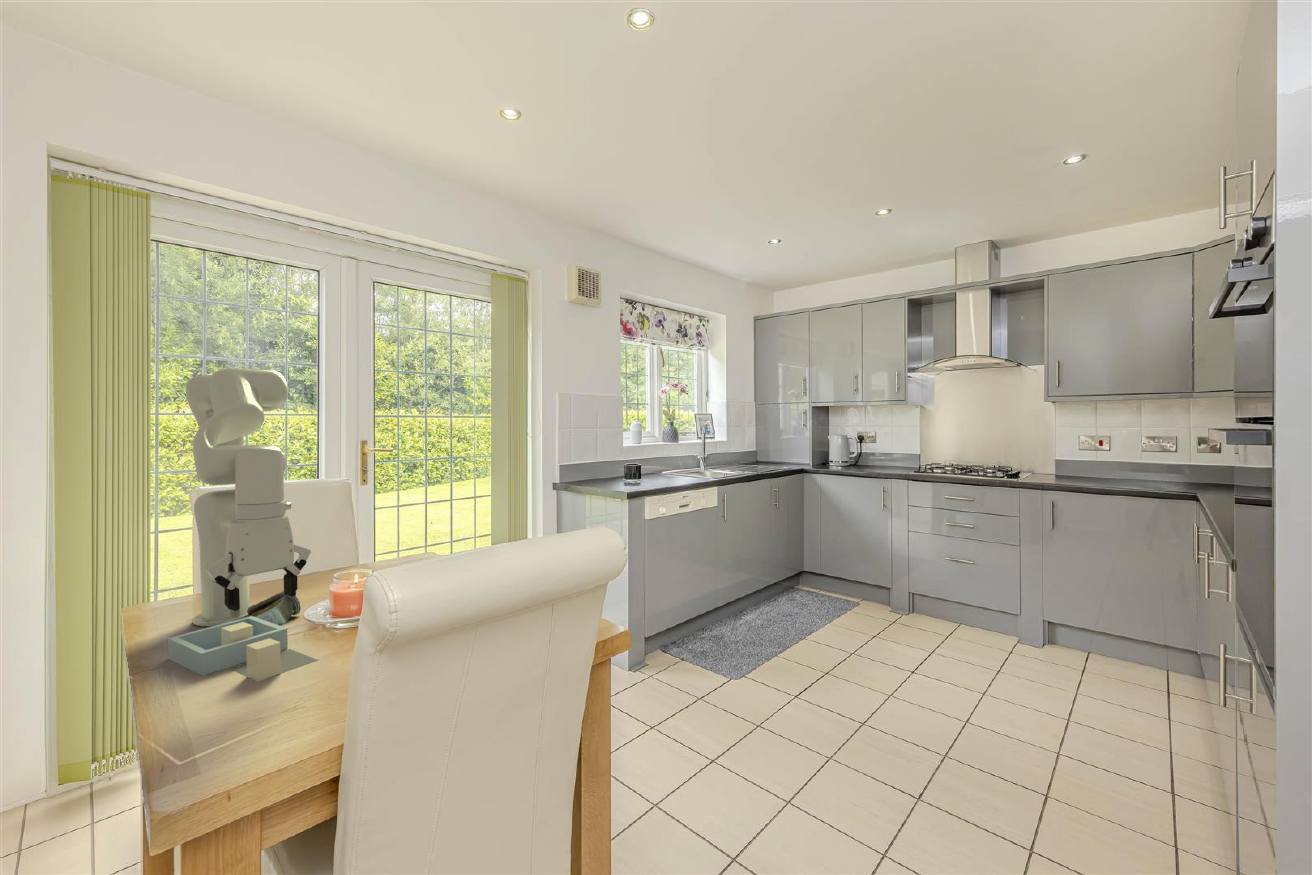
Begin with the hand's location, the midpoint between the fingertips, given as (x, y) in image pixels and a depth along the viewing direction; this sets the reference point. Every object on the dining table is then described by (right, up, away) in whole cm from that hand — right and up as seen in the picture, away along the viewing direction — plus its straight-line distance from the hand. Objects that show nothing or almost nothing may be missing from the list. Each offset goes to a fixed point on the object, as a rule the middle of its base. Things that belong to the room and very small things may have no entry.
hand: (262, 602), depth 107 cm
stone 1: (-12, -14, +9) cm, 20 cm away
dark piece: (-19, -14, +30) cm, 38 cm away
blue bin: (-15, -14, +11) cm, 23 cm away
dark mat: (-2, -14, +5) cm, 15 cm away
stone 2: (0, -14, +1) cm, 14 cm away
